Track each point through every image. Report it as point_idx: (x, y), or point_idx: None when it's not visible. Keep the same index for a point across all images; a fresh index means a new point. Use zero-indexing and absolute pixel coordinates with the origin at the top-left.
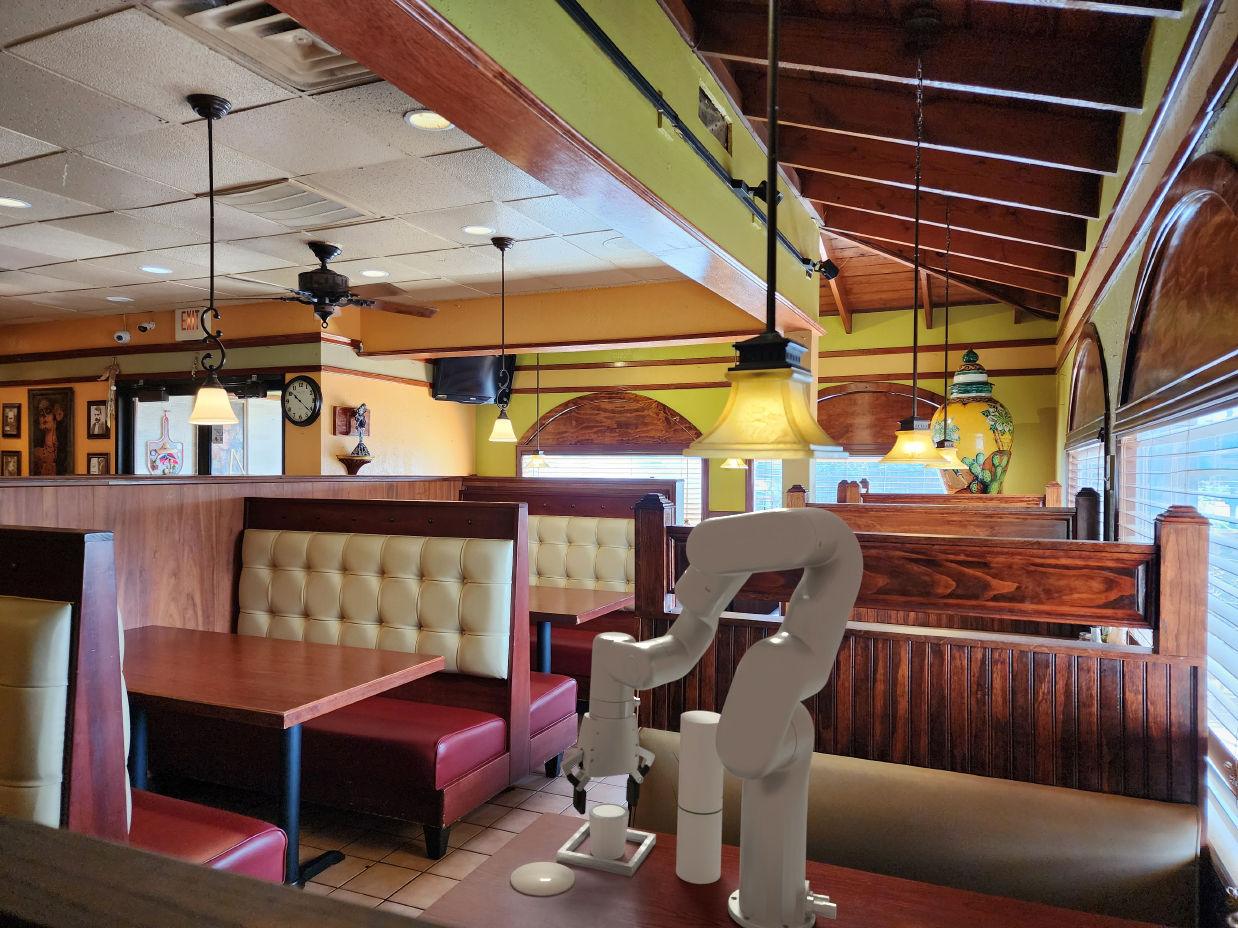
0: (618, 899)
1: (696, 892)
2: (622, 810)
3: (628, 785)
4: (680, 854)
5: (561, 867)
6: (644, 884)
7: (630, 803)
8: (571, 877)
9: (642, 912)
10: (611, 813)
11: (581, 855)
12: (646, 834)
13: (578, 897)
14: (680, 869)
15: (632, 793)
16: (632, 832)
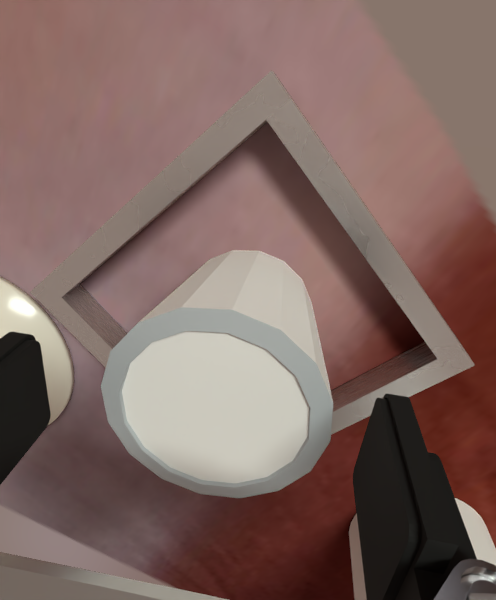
0: (141, 514)
1: (332, 582)
2: (289, 440)
3: (389, 512)
4: (355, 597)
5: (44, 339)
6: (238, 503)
7: (361, 449)
8: (56, 400)
9: (167, 567)
10: (211, 438)
11: (106, 356)
12: (436, 346)
13: (53, 464)
14: (351, 551)
15: (365, 530)
16: (398, 300)
